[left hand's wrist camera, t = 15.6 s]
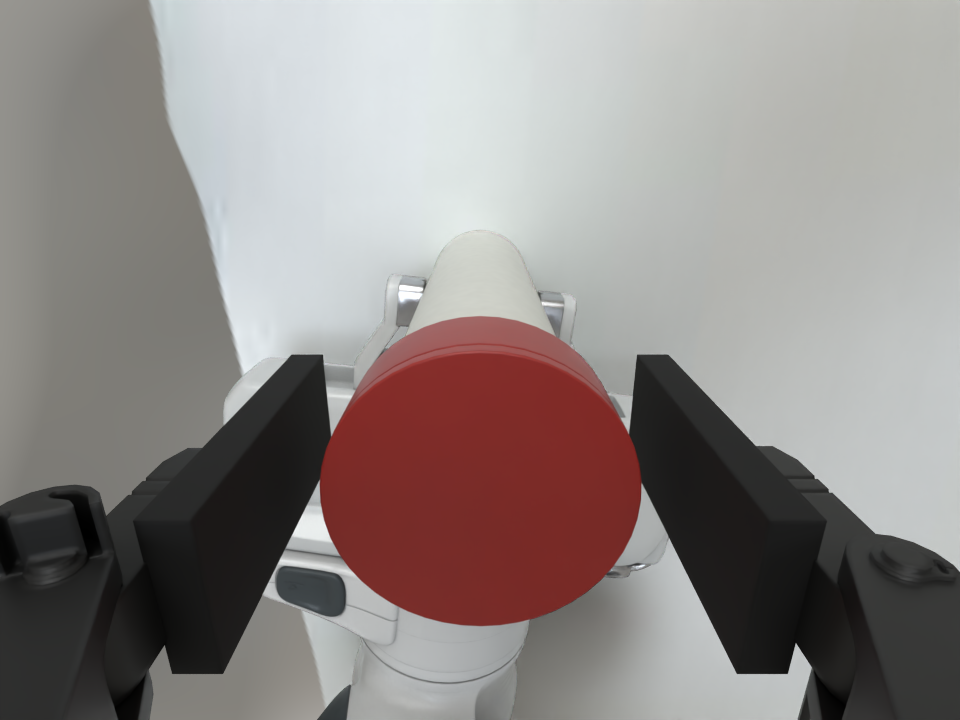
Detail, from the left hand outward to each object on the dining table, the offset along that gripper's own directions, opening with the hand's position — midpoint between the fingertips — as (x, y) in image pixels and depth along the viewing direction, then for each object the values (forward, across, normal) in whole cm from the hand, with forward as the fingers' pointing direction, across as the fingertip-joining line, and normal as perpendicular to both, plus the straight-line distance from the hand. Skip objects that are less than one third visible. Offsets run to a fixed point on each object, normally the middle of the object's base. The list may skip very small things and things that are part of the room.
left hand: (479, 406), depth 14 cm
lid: (-4, 0, 0) cm, 4 cm away
